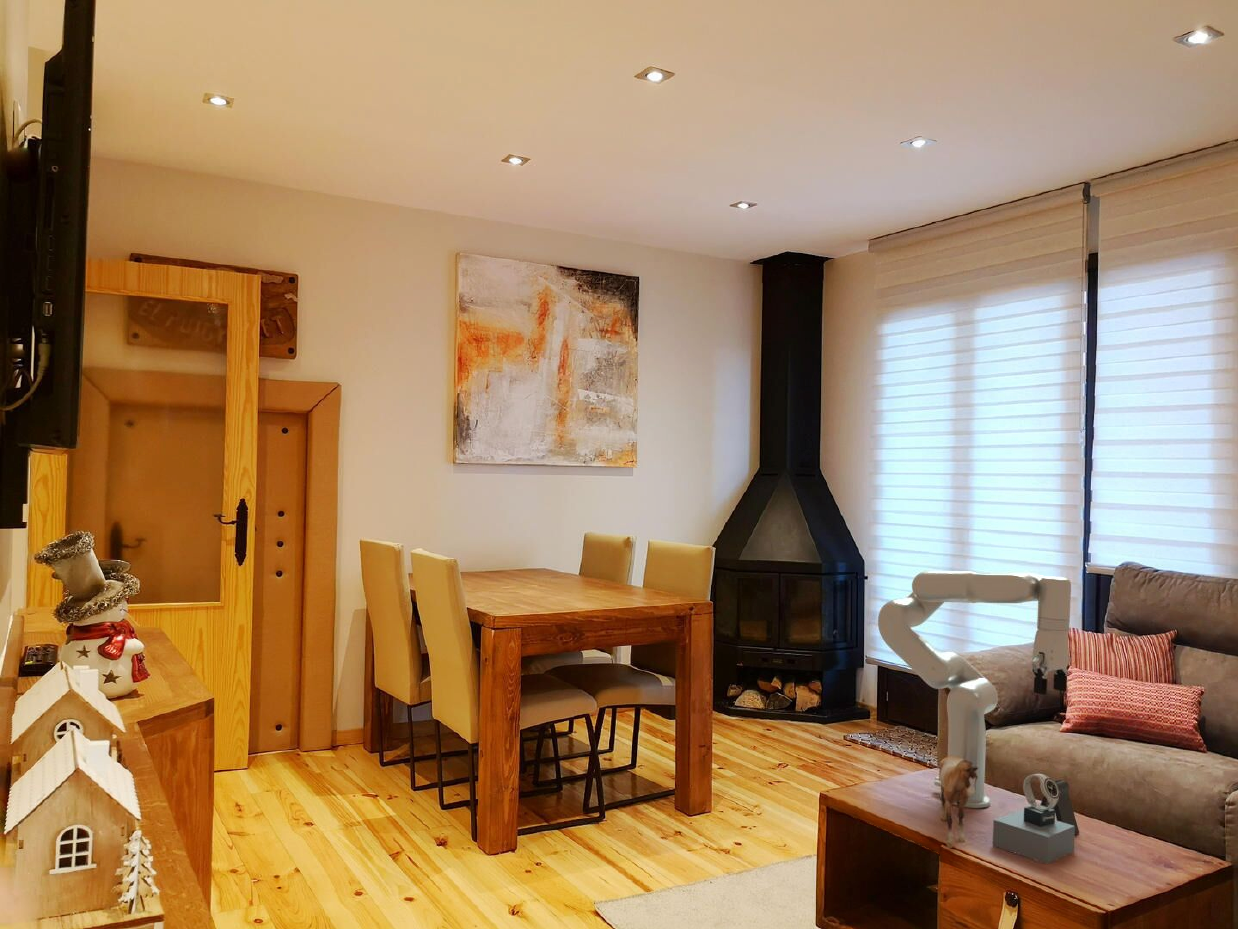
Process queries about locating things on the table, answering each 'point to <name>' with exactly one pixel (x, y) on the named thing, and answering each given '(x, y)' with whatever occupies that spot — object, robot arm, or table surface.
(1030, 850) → the base block
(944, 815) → the horse figurine
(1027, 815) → the watch
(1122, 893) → the table surface
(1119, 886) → the table surface
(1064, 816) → the phone stand
